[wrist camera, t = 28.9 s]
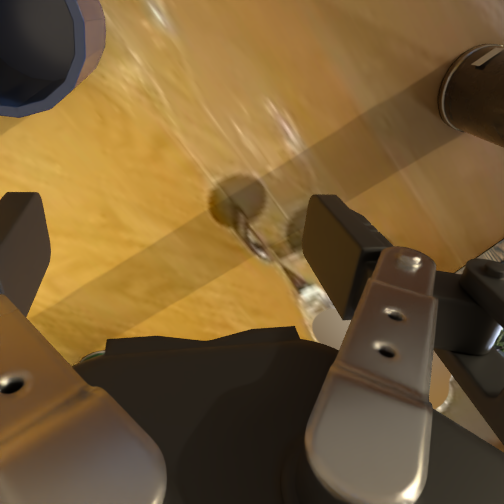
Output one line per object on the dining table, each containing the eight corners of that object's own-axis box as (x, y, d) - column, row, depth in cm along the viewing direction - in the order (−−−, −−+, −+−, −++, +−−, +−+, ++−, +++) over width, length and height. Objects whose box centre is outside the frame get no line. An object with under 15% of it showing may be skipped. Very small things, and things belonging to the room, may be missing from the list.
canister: (71, -75, 32) (30, -116, 22) (124, 69, 38) (112, 92, 28) (-64, -41, 31) (-174, -66, 21) (12, 100, 37) (-45, 135, 27)
